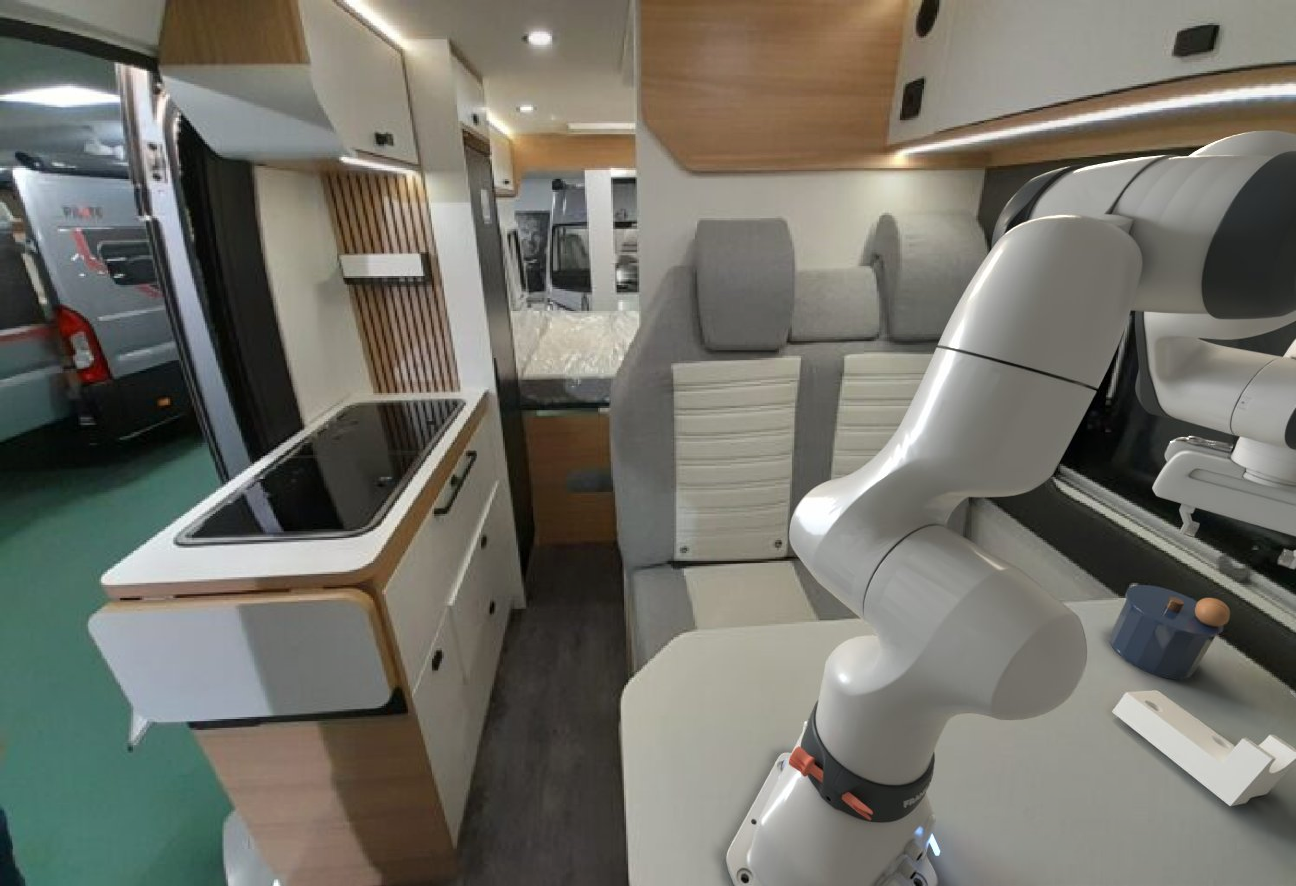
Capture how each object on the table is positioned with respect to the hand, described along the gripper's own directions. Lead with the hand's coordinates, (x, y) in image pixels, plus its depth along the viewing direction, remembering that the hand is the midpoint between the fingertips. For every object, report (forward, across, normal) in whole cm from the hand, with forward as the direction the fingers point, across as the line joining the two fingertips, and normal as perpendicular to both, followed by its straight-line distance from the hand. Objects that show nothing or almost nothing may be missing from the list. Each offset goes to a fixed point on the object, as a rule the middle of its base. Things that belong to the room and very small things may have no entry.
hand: (1233, 548), depth 72 cm
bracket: (+22, +4, -16) cm, 27 cm away
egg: (+13, +1, +2) cm, 13 cm away
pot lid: (+13, -2, +2) cm, 13 cm away
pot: (+22, -2, +2) cm, 22 cm away
